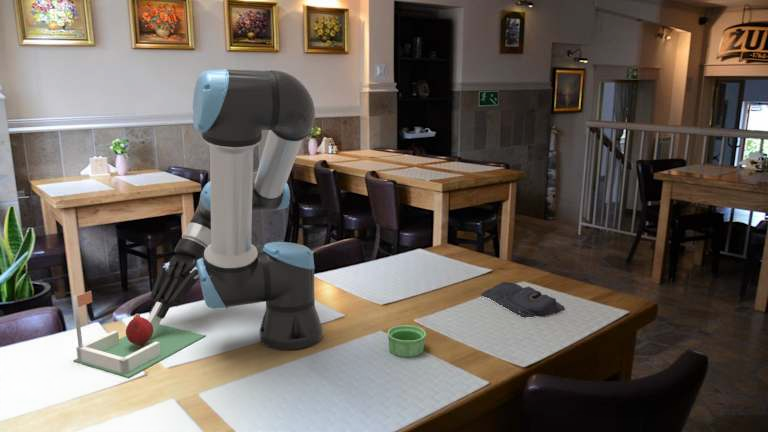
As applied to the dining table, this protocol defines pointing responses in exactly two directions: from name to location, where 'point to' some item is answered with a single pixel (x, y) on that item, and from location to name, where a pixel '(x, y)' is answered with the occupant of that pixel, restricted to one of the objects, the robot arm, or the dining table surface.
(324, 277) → the dining table surface
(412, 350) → the ramekin
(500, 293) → the dark grey lumpy slab
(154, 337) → the felt mat
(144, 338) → the onion
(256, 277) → the robot arm
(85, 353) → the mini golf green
